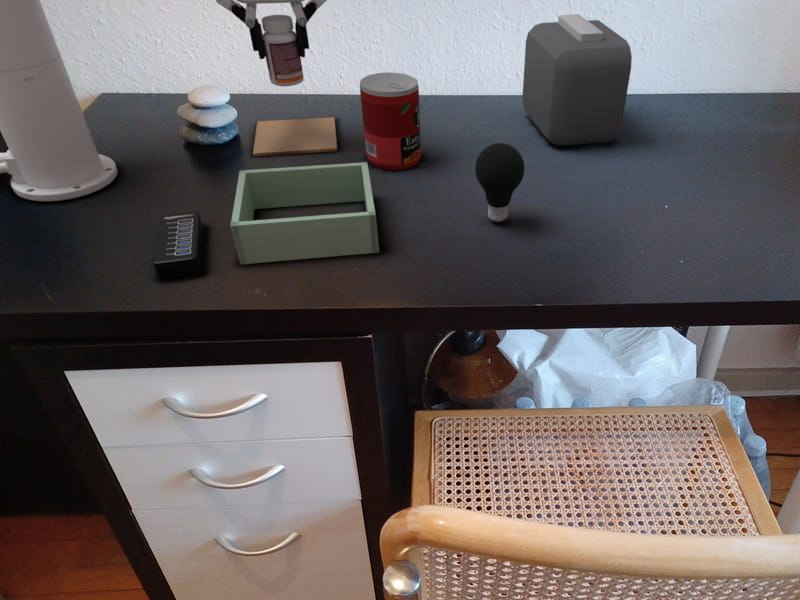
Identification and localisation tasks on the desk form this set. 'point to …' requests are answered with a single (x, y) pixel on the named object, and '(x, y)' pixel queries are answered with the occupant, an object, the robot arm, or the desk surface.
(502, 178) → the light bulb
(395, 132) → the canned food
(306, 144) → the coaster
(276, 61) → the pill bottle
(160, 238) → the multiport hub
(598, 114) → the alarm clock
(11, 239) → the desk surface
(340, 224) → the open box
